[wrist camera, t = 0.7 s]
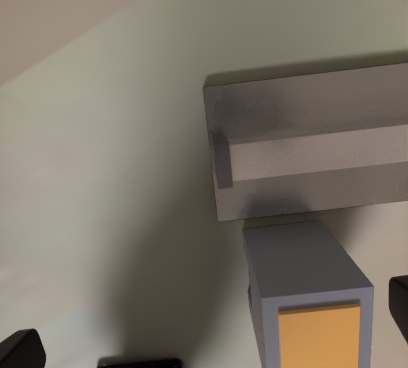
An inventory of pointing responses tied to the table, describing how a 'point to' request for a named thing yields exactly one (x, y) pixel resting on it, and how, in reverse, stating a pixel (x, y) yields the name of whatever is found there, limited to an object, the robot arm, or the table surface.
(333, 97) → the rail
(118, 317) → the table surface
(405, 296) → the robot arm
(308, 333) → the grey slider block
